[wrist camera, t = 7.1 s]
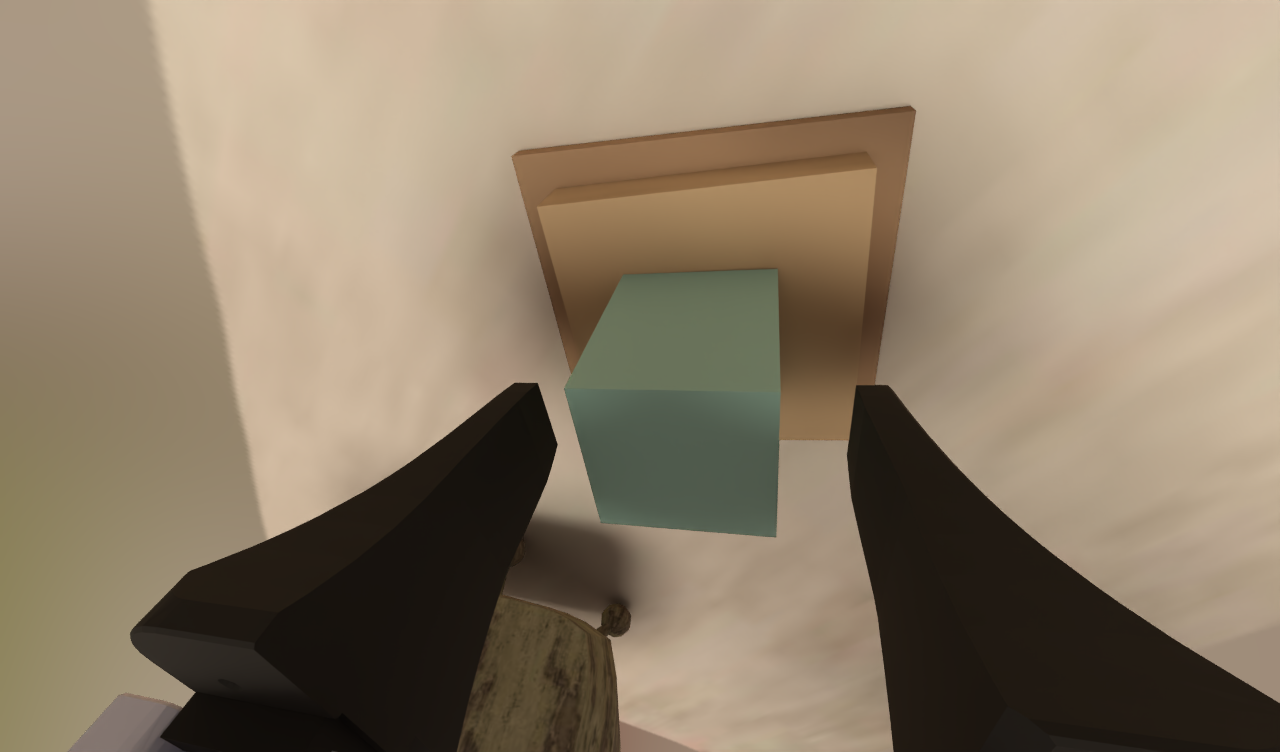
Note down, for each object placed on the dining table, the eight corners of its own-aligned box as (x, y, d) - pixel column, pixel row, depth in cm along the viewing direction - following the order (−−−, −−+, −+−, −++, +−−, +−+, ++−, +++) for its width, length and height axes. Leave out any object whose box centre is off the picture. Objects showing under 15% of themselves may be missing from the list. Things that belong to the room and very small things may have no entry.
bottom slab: (860, 408, 19) (866, 437, 17) (596, 404, 21) (586, 429, 20) (902, 98, 13) (915, 110, 12) (530, 143, 15) (511, 156, 14)
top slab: (845, 408, 17) (851, 440, 16) (611, 410, 19) (602, 438, 18) (866, 150, 12) (877, 167, 11) (555, 188, 14) (536, 206, 13)
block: (774, 395, 15) (776, 537, 11) (642, 392, 16) (601, 522, 12) (778, 268, 13) (780, 392, 9) (622, 274, 14) (564, 388, 10)
